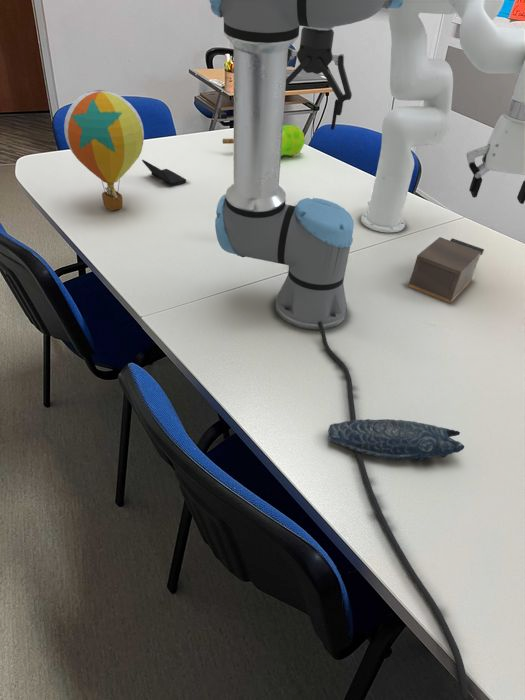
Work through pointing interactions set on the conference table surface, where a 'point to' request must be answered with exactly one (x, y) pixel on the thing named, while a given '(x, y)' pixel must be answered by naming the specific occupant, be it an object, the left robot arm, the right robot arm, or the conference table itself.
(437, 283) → the cabinet
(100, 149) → the toy
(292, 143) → the decorative tree
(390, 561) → the conference table surface
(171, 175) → the black angular piece
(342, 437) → the fish model
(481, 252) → the drawer
